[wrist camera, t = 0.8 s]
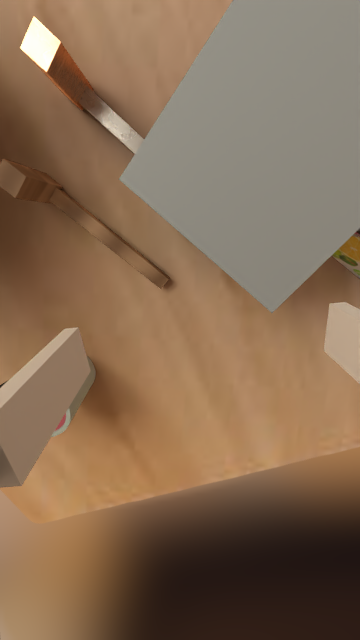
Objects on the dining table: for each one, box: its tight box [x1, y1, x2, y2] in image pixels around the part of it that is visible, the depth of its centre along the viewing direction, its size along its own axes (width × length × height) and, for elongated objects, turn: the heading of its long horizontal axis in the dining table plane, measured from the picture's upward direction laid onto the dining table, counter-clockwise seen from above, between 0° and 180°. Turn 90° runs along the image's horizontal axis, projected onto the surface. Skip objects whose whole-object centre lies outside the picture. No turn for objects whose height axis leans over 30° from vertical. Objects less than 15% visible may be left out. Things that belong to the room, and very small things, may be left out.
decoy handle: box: [0, 159, 169, 289], centre depth 31 cm, size 20×2×8 cm, turn 51°
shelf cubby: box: [119, 0, 360, 313], centre depth 23 cm, size 15×21×17 cm
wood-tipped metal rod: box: [20, 17, 144, 154], centre depth 25 cm, size 27×16×8 cm, turn 51°
